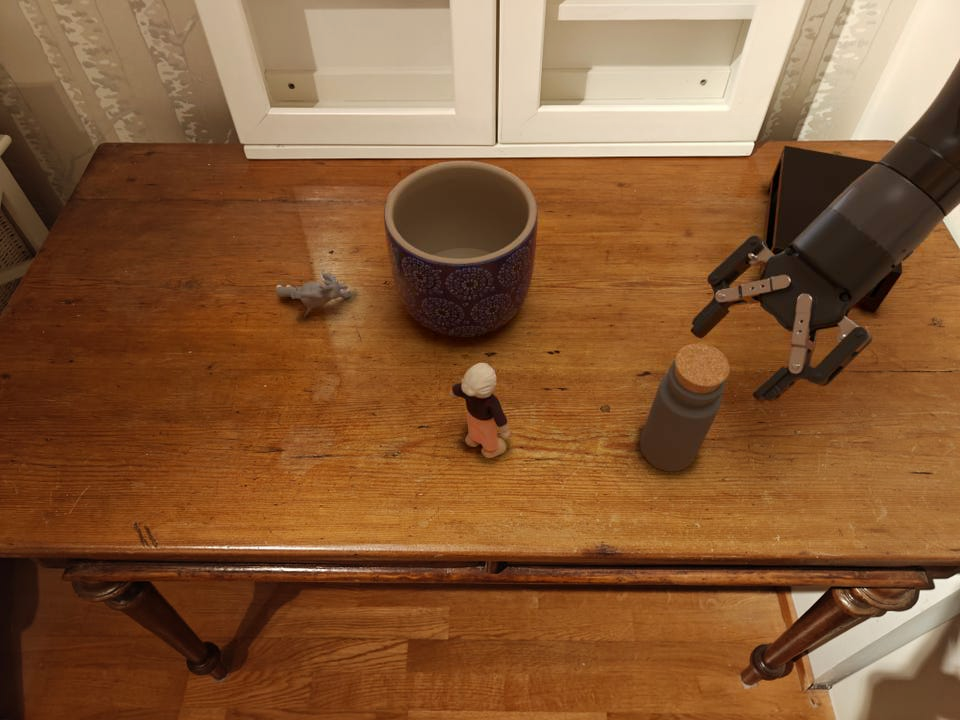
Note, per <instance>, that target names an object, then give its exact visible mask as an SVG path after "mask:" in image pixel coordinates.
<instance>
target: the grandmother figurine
mask: <svg viewBox="0 0 960 720" xmlns="http://www.w3.org/2000/svg"><path fill="white" fill-rule="evenodd" d="M497 378H498V377H497V374H496V371H495V369H493V368H492V367H491V365H489V363H487V362H478V363H475V364H474V365H472V366H471V367H469V368H468V369H467V370H466V372H465V373H464V375H463V378H461V382H458V383H454V384H453V385H452V386H451V390H450V391H449V396H450V398H451V399H453V400H457V399H459V398H461V399H464V401H465V408H466V414H467V415H466V423H467V429H468V430H467V431H468V433H467V435H466V437H465V439H464V443H465V444H466V445H467V446H469V447H471V448H477V447H478V446H479V445H481V446H482V448H481V454H482V456H483V457H484V458H486V459H493V458H495V457H497V456H500V455H502V454H504V453H505V452H506V451H507V444H506V441H505V440H507V439H509V438H510V437H511V431H510V429H509V424H508V417H507V416H506V414H505V412H504V410H503V408H502V404H501V401H500V400H499V398H498V397H497V396H496V394H494V392H495V390H496V385H497V384H498V383H497ZM498 431H499V436H500V437H498Z"/></svg>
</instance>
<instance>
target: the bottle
mask: <svg viewBox="0 0 960 720" xmlns="http://www.w3.org/2000/svg"><path fill="white" fill-rule="evenodd" d="M729 375H730V363H729V360H728V358H727V357H726V355H725V354H724V353H723V352H722V351H720V349H718V348H716V347H714V346H713V345H710V344H706V343H702V342H701V343H699V342H696V343H690V344H686V345H685V346H683V347H682V348H680V349H679V351H678V352H677V353H676V355H675V359H674V360H673V361H672V362H671V364H670V365H669V368H668V371H667V373H665V375H664V376H663V377H662V379H661V380H660V383H659V385H658V388H657V390H656V393H655V396H654V398H653V401H652V404H651V407H650V410H649V413H648V416H647V417H646V421H645V424H644V427H643V430H642V433H641V436H640V441H639V446H640V451H641V453H642V455H643V457H644V459H645V460H646V461H647V462H648V463H649V464H650V465H652V466H653V467H654V468H656V469H659V470H660V471H664V472H679V471H682V470H684V469H687V468H688V467H689V466H690V465H692V463H693V461H694V460H695V458H696V457H697V455H698V453H699V450H700V449H701V447H702V445H703V443H704V441H705V440H706V439H705V438H706V437H707V435H708V433H709V430H710V429H711V427H712V425H713V423H714V420H715V418H716V417H717V414H718V413H719V411H720V408H721V406H722V403H723V392H724V390H725V388H726V386H727V379H728V376H729Z"/></svg>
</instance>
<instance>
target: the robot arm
mask: <svg viewBox="0 0 960 720" xmlns="http://www.w3.org/2000/svg"><path fill="white" fill-rule="evenodd" d="M876 162H877V163H876V164H874V165H873V166H872V167H871V168H870V169H869V170H868V171H866V172H865V173H864V174H863V175H861V176H860V177H859V178H857V179H856V180H855V181H854V182H852V183H851V184H850V185H849V186H848V187H847V188H846V189H845V190H844V191H843V192H842V193H841V194H840V195H839V196H838V197H837V198H836V199H835V200H834V201H833V202H832V203H831V204H830V205H829V206H828V207H827V208H826V209H825V210H824V211H823V212H822V213H821V214H820V215H819V216H818V217H817V218H816V219H815V220H814V221H813V222H812V223H811V224H810V225H809V226H808V227H807V228H806V229H805V230H804V231H803V232H802V233H801V234H800V235H799V236H798V237H797V238H796V239H795V240H794V241H793V242H792V243H791V244H790V245H789V247H788V248H787V249H786V250H785V251H783V252H781V253H779V254H777V255H774V254H773V253H772V252H771V251H770V250H769V249H768V246H767V244H766V243H765V242H764V240H763V239H761V238H760V237H759V236H758V235H751V236H750V237H748V238H747V239H746V240H745V241H744V242H743V243H742V244H740V245H739V247H737V248H736V249H735V250H734V251H733V252H732V253H731V254H730V255H729V256H728V257H726V258H725V259H724V260H723V261H722V262H721V263H720V264H719V265H718V266H717V267H716V268H715V269H713V270H712V271H711V272H710V273H709V274H708V276H707V279H706V280H707V283H708V284H709V285H710V286H711V289H712V291H713V296H712V299H711V300H710V301H709V302H708V304H706V306H704V307H703V308H702V309H701V310H700V311H699V312H698V313H697V314H696V315H695V316H694V318H693V319H692V322H691V325H692V327H691V328H690V333H691V334H692V335H693V336H694V337H696V338H698V339H703V338H705V337H706V336H707V335H708V334H709V333H711V331H712V330H713V329H715V327H717V325H719V323H720V322H721V321H722V320H723V319H724V318H725V317H726V316H727V315H728V314H729V313H730V310H729V308H733V307H739V306H745V305H757V304H759V307H761V308H762V309H763V310H764V311H765V312H767V313H768V314H770V315H771V316H774V318H775V319H776V322H777V323H778V324H779V325H780V326H782V328H783V329H785V330H787V332H790V333H792V334H791V339H790V353H789V354H790V355H789V360H788V365H787V366H786V367H785V366H780V368H779V369H777V370H776V371H775V373H773V374H772V375H771V376H770V377H769V378H767V380H766V381H764V382H763V384H761V385H760V386H759V387H758V388H757V389H756V390H755V391H754V392H753V393H752V395H751V396H752V397H753V398H754V399H755V400H756V401H757V402H760V403H765V402H766V401H767V402H770V403H772V402H775V401H777V400H779V399H780V398H781V397H782V396H783V395H784V394H785V393H786V392H787V391H789V390H790V389H791V388H792V387H793V386H794V385H795V384H796V383H797V382H799V381H801V380H806V381H809V382H811V383H813V384H815V385H818V386H820V387H826V386H828V385H830V384H831V383H832V381H834V380H835V379H836V378H837V377H838V376H839V375H840V374H841V373H842V372H843V371H844V370H845V369H846V368H847V367H848V366H849V365H850V364H851V363H852V362H853V361H854V360H855V359H856V358H857V357H858V356H859V355H860V354H861V353H862V352H863V351H864V350H865V349H866V348H867V347H868V346H869V345H870V344H871V343H872V341H873V335H872V333H871V332H870V331H869V330H868V329H866V328H865V327H863V326H859V325H858V324H857V323H855V322H854V321H853V320H851V319H850V318H849V317H848V316H849V313H850V311H851V310H852V308H853V307H854V306H855V305H856V304H857V303H858V302H859V301H861V300H860V299H861V298H862V297H863V296H865V295H866V294H867V293H868V292H869V291H870V290H871V289H872V288H873V287H874V286H875V285H877V284H878V283H879V282H880V281H881V280H882V279H883V278H884V277H885V276H886V275H888V274H889V273H890V272H891V271H892V270H893V269H894V268H895V267H896V266H897V265H898V264H899V263H901V262H902V263H903V262H904V261H906V260H907V259H908V258H909V257H910V256H912V254H914V251H915V250H917V248H918V247H919V246H920V245H922V243H923V242H924V241H925V240H926V239H927V238H928V237H929V236H930V235H931V233H932V232H933V231H934V230H935V229H936V227H938V225H939V224H940V223H941V222H942V221H943V220H944V219H945V217H947V216H948V215H949V214H950V213H952V212H953V210H955V209H956V208H957V207H958V206H959V205H960V58H959V59H958V61H957V62H956V64H955V66H954V67H953V69H952V71H951V72H950V74H949V76H948V77H947V79H946V81H945V83H944V84H943V86H942V87H941V89H940V90H939V92H938V93H937V95H936V96H935V98H934V99H933V100H932V102H931V103H930V105H929V106H928V107H927V108H926V110H925V111H924V112H923V114H922V115H921V116H920V117H919V118H918V120H917V121H916V122H915V123H913V125H912V126H911V127H910V128H909V129H908V130H907V131H906V133H904V134H903V136H902V137H900V138H899V139H898V141H896V143H894V144H893V146H891V148H889V149H888V151H886V152H885V153H884V154H883V156H881V157H880V158H879V159H878V160H877V161H876ZM762 263H766V264H765V269H764V274H763V279H762V280H759V281H757V280H753V281H750V282H749V281H748V282H745V283H741V284H739V285H738V286H733V287H730V286H731V285H732V284H733V283H735V281H737V279H739V278H740V276H742V275H743V274H744V273H745V272H746V271H747V270H748V269H749V268H750V267H758V266H760V265H762ZM837 327H839V332H838V333H837V334H836V342H837V343H838V344H837V345H836V346H835V347H833V349H832V350H831V351H830V352H829V353H827V355H826V356H825V357H824V358H823V359H822V360H821V361H820V362H819V363H818V364H817V365H816V366H813V365H812V362H813V361H812V360H813V356H814V352H815V351H816V348H817V347H816V346H817V342H818V335H819V331H822V330H827V329H833V328H837Z"/></svg>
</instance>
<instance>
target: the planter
mask: <svg viewBox="0 0 960 720" xmlns="http://www.w3.org/2000/svg"><path fill="white" fill-rule="evenodd" d="M538 210H539V209H538V204H537V200H536V197H535V196H534V193H533V192H532V190H531V189H530V188H529V186H528V185H527V184H526V183H525V181H523V180H522V179H521V178H519V177H518V176H517V175H515V174H514V173H512V172H511V171H508V170H506V169H504V168H502V167H500V166H498V165H497V166H496V165H493V164H490V163H486V162H482V161H481V162H480V161H473V160H453V161H452V160H451V161H444V162H443V161H442V162H439V163H435V164H431V165H427V166H424V167H422V168H420V169H418V170H416V171H414V172H412V173H410V174H409V175H407V176H406V177H404V178H403V179H402V180H401V181H400V182H399V183H398V184H397V185H396V186H394V188H393V189H392V190H391V191H390V193H389V195H388V196H387V199H386V201H385V205H384V209H383V221H384V223H383V224H384V232H385V240H386V247H387V252H388V258H389V263H390V269H391V273H392V274H391V275H392V277H393V282H394V285H395V287H396V291H397V294H398V297H399V300H400V301H401V303H402V305H403V306H404V308H405V310H406V311H407V313H408V314H409V315H410V316H411V317H412V318H413V319H414V320H415V321H416V322H418V323H419V324H420V325H422V326H423V327H425V328H427V329H429V330H431V331H432V332H435V333H438V334H440V335H444V336H447V337H453V338H469V337H470V338H471V337H478V336H482V335H485V334H488V333H491V332H494V331H495V330H497V329H500V328H501V327H503V326H504V325H505V324H507V323H508V322H509V321H511V319H513V318H514V317H515V316H516V315H517V313H518V312H519V311H520V310H521V308H522V307H523V305H524V303H525V301H526V300H527V297H528V295H529V292H530V288H531V283H532V280H533V273H534V268H535V261H536V260H535V259H536V250H537V240H538V224H539V217H538V215H539V213H538Z"/></svg>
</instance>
